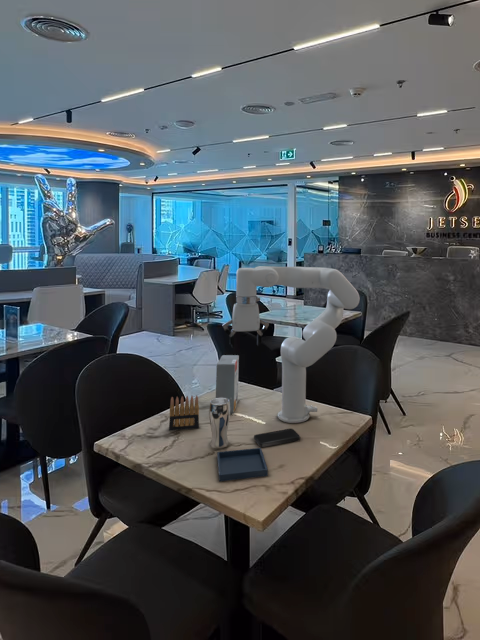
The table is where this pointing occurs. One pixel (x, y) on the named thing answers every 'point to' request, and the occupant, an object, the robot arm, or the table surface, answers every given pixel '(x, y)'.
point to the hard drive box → (228, 379)
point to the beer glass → (219, 422)
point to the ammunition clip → (186, 420)
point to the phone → (276, 437)
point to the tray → (241, 464)
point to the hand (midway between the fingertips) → (245, 346)
